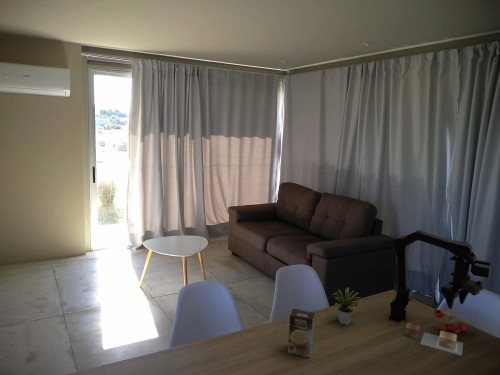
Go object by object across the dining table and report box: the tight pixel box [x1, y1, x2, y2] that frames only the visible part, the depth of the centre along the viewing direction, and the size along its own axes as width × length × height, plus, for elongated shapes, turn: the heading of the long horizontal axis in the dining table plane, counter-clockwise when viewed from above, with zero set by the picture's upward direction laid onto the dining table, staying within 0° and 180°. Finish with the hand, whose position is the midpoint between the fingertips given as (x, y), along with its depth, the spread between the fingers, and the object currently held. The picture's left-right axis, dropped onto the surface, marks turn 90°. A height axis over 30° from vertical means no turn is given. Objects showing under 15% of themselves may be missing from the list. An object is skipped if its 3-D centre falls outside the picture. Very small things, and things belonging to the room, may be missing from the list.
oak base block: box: [438, 330, 458, 350], centre depth 156 cm, size 6×6×4 cm
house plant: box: [331, 286, 364, 326], centre depth 173 cm, size 14×14×16 cm
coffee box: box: [287, 308, 316, 358], centre depth 149 cm, size 9×6×16 cm
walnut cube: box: [404, 322, 421, 340], centre depth 163 cm, size 5×5×5 cm
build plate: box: [419, 332, 464, 356], centre depth 157 cm, size 15×11×1 cm
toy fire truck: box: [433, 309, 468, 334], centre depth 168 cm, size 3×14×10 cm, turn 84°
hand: (455, 306), depth 164 cm, fingers open, 9 cm apart
